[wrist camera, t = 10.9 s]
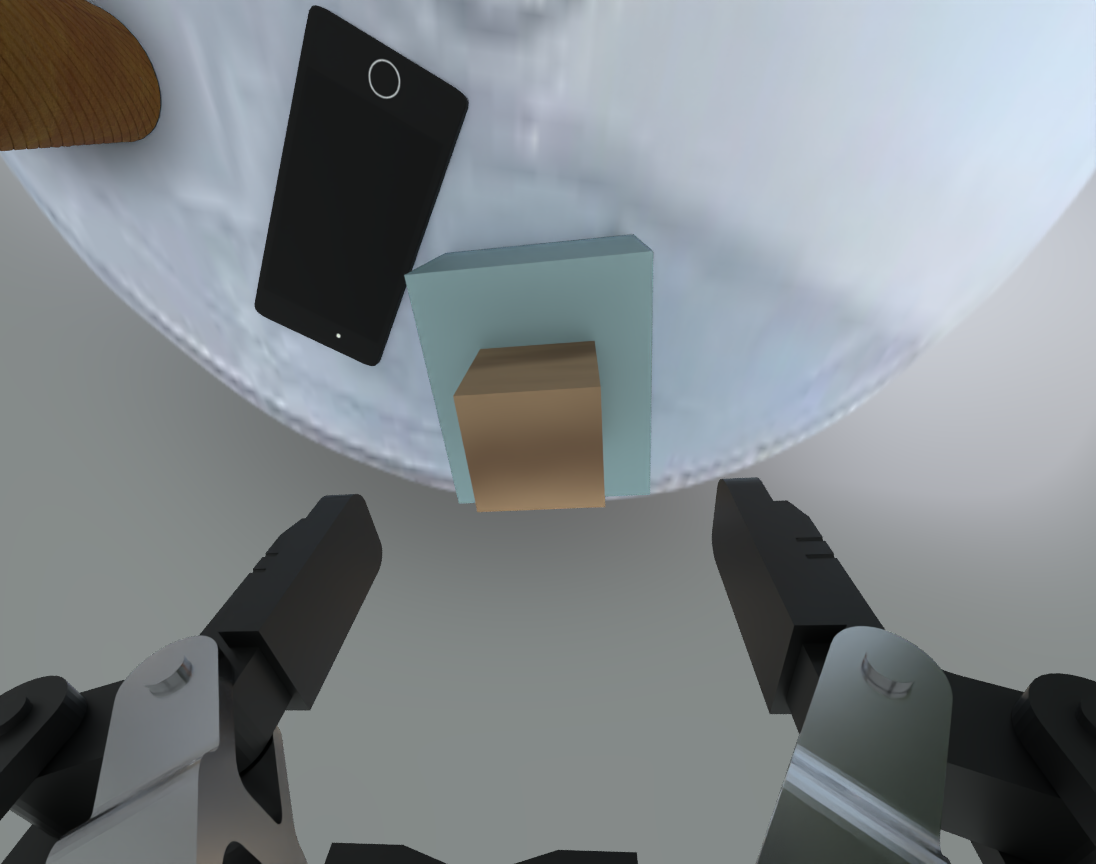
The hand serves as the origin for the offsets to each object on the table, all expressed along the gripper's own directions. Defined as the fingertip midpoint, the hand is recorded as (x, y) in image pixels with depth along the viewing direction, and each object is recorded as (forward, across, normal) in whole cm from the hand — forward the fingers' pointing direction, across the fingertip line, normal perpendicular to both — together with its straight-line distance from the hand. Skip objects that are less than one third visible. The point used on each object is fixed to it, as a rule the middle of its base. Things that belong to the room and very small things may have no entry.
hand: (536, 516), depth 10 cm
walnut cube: (+14, +1, +4) cm, 15 cm away
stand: (+22, +1, +4) cm, 23 cm away
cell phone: (+23, +13, -6) cm, 27 cm away
